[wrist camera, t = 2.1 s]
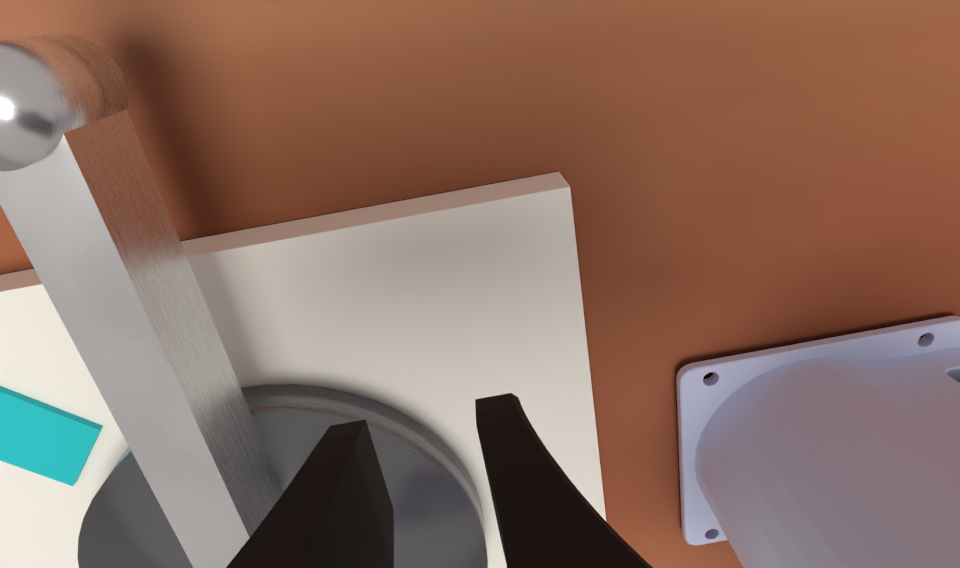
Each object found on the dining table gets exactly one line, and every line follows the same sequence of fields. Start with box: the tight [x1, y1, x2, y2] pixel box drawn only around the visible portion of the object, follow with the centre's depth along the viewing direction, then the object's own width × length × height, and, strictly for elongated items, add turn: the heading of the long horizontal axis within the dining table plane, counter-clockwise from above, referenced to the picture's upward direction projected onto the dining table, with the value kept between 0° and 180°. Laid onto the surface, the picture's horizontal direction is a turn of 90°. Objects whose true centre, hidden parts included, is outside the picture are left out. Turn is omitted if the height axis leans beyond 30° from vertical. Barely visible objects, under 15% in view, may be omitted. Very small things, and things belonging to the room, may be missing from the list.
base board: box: [0, 172, 606, 568], centre depth 21 cm, size 20×20×2 cm
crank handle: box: [0, 33, 488, 568], centre depth 16 cm, size 22×12×4 cm, turn 10°
